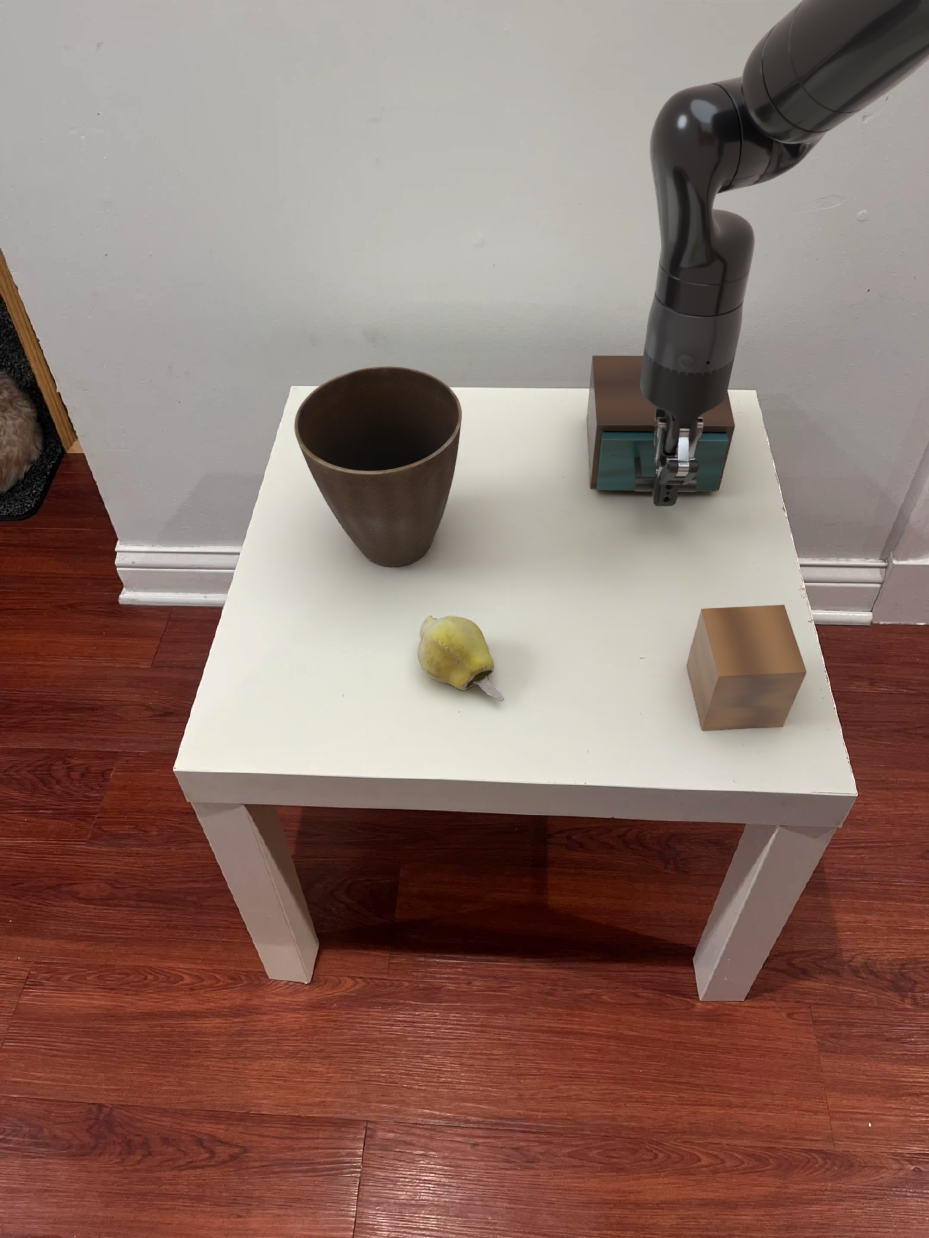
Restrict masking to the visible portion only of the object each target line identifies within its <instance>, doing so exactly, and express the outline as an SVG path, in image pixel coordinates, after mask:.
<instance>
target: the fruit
mask: <svg viewBox="0 0 929 1238" xmlns="http://www.w3.org/2000/svg"><path fill="white" fill-rule="evenodd" d="M419 635H420V640H419V644H418V647H417V653H416V654H417V655H416V656H417V659H418V663H419V665H420V667H421V669H422V670H423V671H424V672H425V673H426V674H427V675H428V676H430V677H431V678H432V679H434V680H435V681H438V682H439V683H444V684H448V685H451V686H453V687H454V688H456V689H458V690H462V691H464V690H467V689H470V688H472V687H475V686H479V688H480V689H481V690H482V691H483V692H485V694H487V696H490V697H492V698H494V699H495V700H498V701H500V702H503V701H504V700H505V698H504V696H503V695H502V693H501V692H500V691H499V690H498V688H497V687H496V686H495V685H494V684H493V683H492V682H490V680H489V679H488V677H489V676H490V675H491V674H492V673H493V672H494V670H495V663H494V660H493V659H494V658H493V657H492V656H491V653H490V648H489V646H488V643H487V641H486V639H485V635H484V633H483V632H482V630H481V628H480V627H479V625H477V624H476V623H475V622H474V621H472V620H470V619H468V618H465V617H462V616H461V617H460V616H457V615H456V616H455V615H445V616H443V617H440V618H435V617H433V615H428V616H427V617H425V619H424V621H423V622H422V624H421V626H420V629H419Z"/></svg>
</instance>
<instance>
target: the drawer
mask: <svg viewBox="0 0 929 1238" xmlns="http://www.w3.org/2000/svg"><path fill="white" fill-rule="evenodd" d="M728 442H729V440H728V435H727V433H717V432H702V434H701V437H700V438H698V440H697V444H696V448H695V453H694V458H695V460H698V464H699V470H698V472H697V474H696V475H695V476H694V477H693V478H692V479H691V480H690V482H689V483H688V484H687V485H679V491H678V493H680V492H681V493H696V492H717V491H718V490H717V487H718V483H719V479H720V475H721V470H722V466H723V462H724V458H725V454H726V450H727V446H728ZM654 457H655V449H654V446H653V433H630V431H604V432H602V436H601V446H600V455H599V464H598V473H597V489H596V490H597V491H634V492H652V490H653V484H654V477H655V471H656V467H657V466H655V463H654Z"/></svg>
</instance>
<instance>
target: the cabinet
mask: <svg viewBox="0 0 929 1238" xmlns="http://www.w3.org/2000/svg"><path fill="white" fill-rule="evenodd" d="M642 362H643V355H595V354H593V355H592V356H591V366H590V376H589V387H588V400H587V409H586V410H587V411H586V433H587V435H586V436H587V451H588V452H587V454H588V455H587V456H588V474H589V488H590V489H594V490H597V473H598V464H599V455H600V446H601V436H602V432H604V431H653V430H654V423H655V418H654V412H653V410H654V406H653V405H652V404H651V403H649V402H648V401H647V400H646V399H645V397H644V396H643V394H642V392H641V390H640V377H641V369H642ZM699 417H703V430H702V432H717V433H727V435H728V440H729V442H728V446H727V450H726V454H725V458H724V462H723V466H722V470H721V475H720V479H719V483H718V487H717V491H720V488H721V484H722V481H723V476H724V472H725V470H726V466H727V465H726V464H727V460H728V456H729V453H730V447H731V444H732V440H733V436H734V432H735V428H736V423H735V418H734V413H733V409H732V404H731V399H730V395H729V391H727V394H726V397H725V399H724V400H723V401H722V403H721V404H719V405H718V406H717V407H715V408H714V409H712V410H709V411H707V412H705V413H704V414H702V415H701V416H699Z"/></svg>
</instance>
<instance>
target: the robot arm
mask: <svg viewBox="0 0 929 1238" xmlns="http://www.w3.org/2000/svg"><path fill="white" fill-rule="evenodd" d="M927 61H929V0H801V1H800V2H799V3H798V4H797V5H796V6H795V7H793V8H792V9H791V10H790V11H789V12H788V13H787V14H785V15H784V16H783V17H782V18H781V19H780V20H779V21H777V23H775V24H774V25H773V26H772V27H771V28H770V29H769V30H768V31H767V32H766V33H765V34H764V36H762V37H761V39H760V40H759V41H758V42H757V43H756V45H755V46H754V47H753V49H752V50H751V51H750V54H749V56H748V57H747V59H746V61H745V65H744V67H743V70H742V73H741V75H742V76H739V77H733V78H728V79H723V80H719V81H714V82H710V83H705V84H704V83H703V84H699V85H694V86H689V87H686V88H684V89H681V90H679V91H677V92H675V93H673V94H672V95H671V96H670V97H669V98H668V99H667V100H666V102H665V103H664V104H663V105H662V107H661V109H660V110H659V112H658V114H657V116H656V118H655V121H654V123H653V126H652V129H651V132H650V139H649V160H650V168H651V174H652V180H653V186H654V193H655V200H656V208H657V209H656V210H657V219H658V227H659V236H660V252H659V258H658V266H657V273H656V280H655V290H654V294H653V298H652V302H651V305H650V309H649V313H648V317H647V324H646V332H645V341H644V347H643V355H642V356H643V362H642V369H641V377H640V390H641V392H642V394H643V396H644V397H645V399H646V400H647V401H648V402H649V403H651V404H652V405H653V406H654V410H653V412H654V418H655V423H654V430H653V446H654V449H655V457H654V463H655V466H657V467H656V471H655V477H654V484H653V490H652V491H651V496H652V503H653V505H654V506H656V507H673V506H675V505H676V504H677V501H678V496H679V492H678V491H679V485H687V484H688V483H689V482H690V480H691V479H692V478H693V477H694V476H695V475H696V474H697V472H698V470H699V464H698V460H695V458H694V453H695V448H696V444H697V440H698V438H700V437H701V434H702V430H703V417H699V416H701V415H702V414H704V413H705V412H707V411H709V410H712V409H714V408H715V407H717V406H718V405H719V404H721V403H722V401H723V400H724V399H725V397H726V394H727V391H728V390H729V385H730V381H731V376H732V371H733V367H734V362H735V358H736V354H737V353H736V352H737V348H738V343H739V339H740V335H741V330H742V324H743V307H744V301H745V297H746V296H745V295H746V291H747V286H748V281H749V278H750V273H751V268H752V263H753V257H754V252H755V251H754V250H755V244H756V243H755V242H756V238H755V237H756V236H755V231H754V228H753V226H752V225H751V223H750V222H749V221H748V220H747V219H746V218H744V217H743V216H741V215H740V214H738V213H736V212H733V211H729V210H725V209H718V208H714V202H715V199H716V197H717V195H719V194H724V193H727V192H731V191H735V190H739V189H743V188H747V187H752V186H755V185H760V184H763V183H766V182H769V181H771V180H773V179H776V178H778V177H779V176H782V175H784V174H785V173H787V172H788V171H791V170H792V169H794V168H795V167H796V166H797V165H799V164H800V163H802V161H803V160H804V159H805V158H806V157H807V156H808V155H809V153H811V151H813V149H814V148H815V147H816V146H817V145H818V144H819V143H820V141H821V140H822V139H823V138H824V136H825V135H826V134H827V133H828V132H830V131H831V130H833V129H834V128H836V127H838V126H839V125H841V124H842V123H844V122H846V121H847V120H849V119H850V118H852V117H853V116H854V115H857V114H858V113H860V112H861V111H862V110H865V109H866V108H867V107H868V106H871V105H872V104H874V103H875V102H876V101H878V100H879V99H881V98H882V97H884V96H885V95H887V94H888V93H889V92H891V91H892V90H893V89H894V88H896V87H897V86H899V85H900V84H901V83H902V82H904V81H906V80H907V79H908V78H909V77H910V76H911V75H913V74H914V73H915V72H917V70H919V68H921V67H922V66H923V65H925V64H926V63H927ZM728 392H729V391H728Z"/></svg>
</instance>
